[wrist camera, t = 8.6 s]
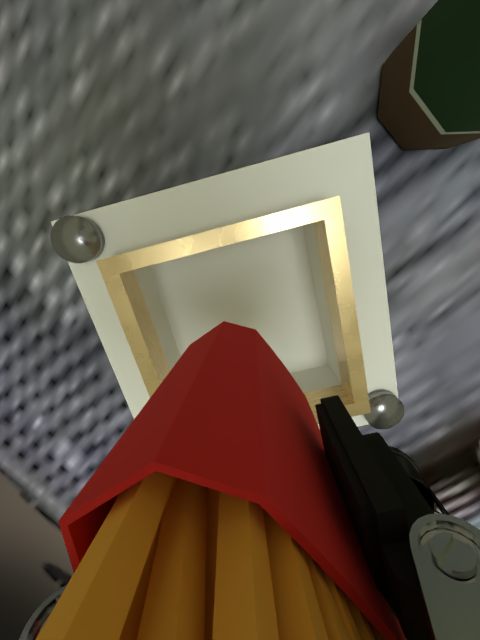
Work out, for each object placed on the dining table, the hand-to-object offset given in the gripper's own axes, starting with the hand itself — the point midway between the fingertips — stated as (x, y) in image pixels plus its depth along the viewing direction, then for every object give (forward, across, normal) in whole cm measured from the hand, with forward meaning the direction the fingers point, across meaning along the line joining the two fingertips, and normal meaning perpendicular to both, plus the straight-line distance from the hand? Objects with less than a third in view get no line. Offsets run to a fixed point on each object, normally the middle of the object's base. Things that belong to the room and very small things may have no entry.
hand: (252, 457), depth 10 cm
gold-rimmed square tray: (+16, 0, 0) cm, 16 cm away
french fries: (+5, 0, 0) cm, 5 cm away
